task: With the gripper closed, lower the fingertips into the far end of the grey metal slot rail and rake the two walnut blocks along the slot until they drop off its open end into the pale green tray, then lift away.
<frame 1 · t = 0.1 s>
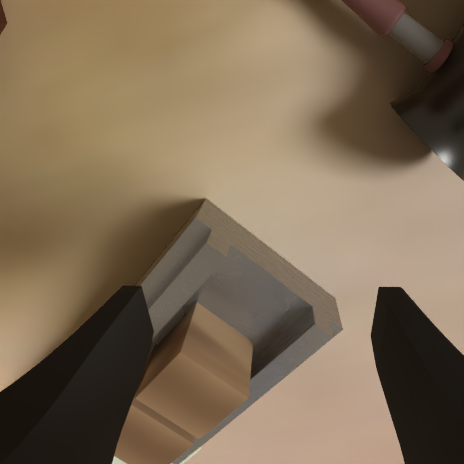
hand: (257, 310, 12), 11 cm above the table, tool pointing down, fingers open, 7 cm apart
rail: (203, 321, 25), on the table
block a: (162, 385, 24), point 3 cm above the table, touching rail
block b: (204, 343, 22), point 3 cm above the table, touching rail
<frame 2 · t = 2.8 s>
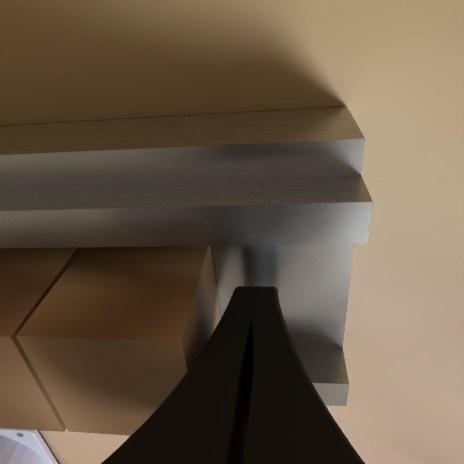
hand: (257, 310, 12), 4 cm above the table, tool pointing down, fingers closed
rail: (162, 239, 16), on the table
block a: (46, 288, 14), point 3 cm above the table, touching rail
block b: (159, 288, 13), point 3 cm above the table, touching gripper, rail
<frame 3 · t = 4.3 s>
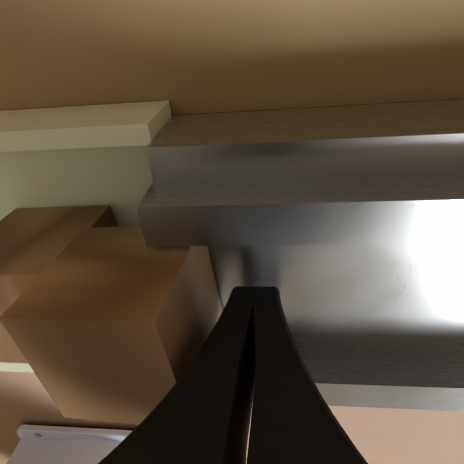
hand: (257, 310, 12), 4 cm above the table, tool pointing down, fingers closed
rail: (371, 236, 15), on the table
block a: (102, 282, 13), point 3 cm above the table, tilted 94°, touching block b, tray
tray: (65, 240, 16), on the table
block b: (157, 276, 13), point 3 cm above the table, tilted 5°, touching block a, gripper, rail
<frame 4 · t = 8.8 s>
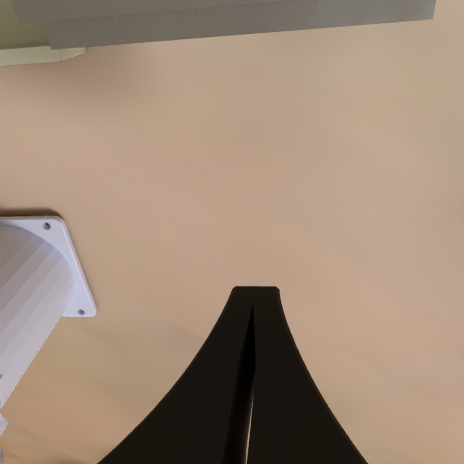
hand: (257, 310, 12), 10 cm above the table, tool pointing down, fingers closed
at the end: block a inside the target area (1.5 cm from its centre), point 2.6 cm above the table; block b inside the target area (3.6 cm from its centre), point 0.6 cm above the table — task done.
